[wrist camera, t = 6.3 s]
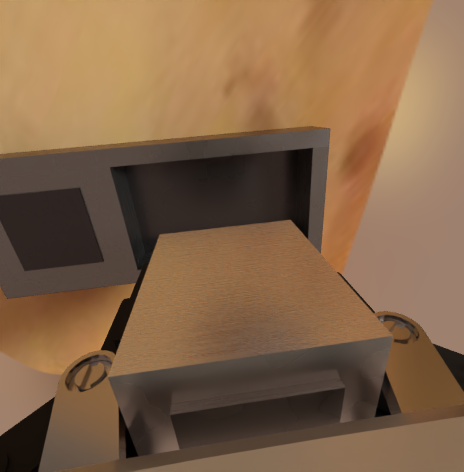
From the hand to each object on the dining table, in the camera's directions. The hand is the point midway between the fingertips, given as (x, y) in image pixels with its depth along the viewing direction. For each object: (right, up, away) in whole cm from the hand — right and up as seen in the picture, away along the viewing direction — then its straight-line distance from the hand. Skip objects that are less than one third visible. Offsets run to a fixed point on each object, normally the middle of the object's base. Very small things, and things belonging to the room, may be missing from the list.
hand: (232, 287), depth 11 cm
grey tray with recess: (-5, +4, +9) cm, 11 cm away
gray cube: (0, 0, 0) cm, 1 cm away
